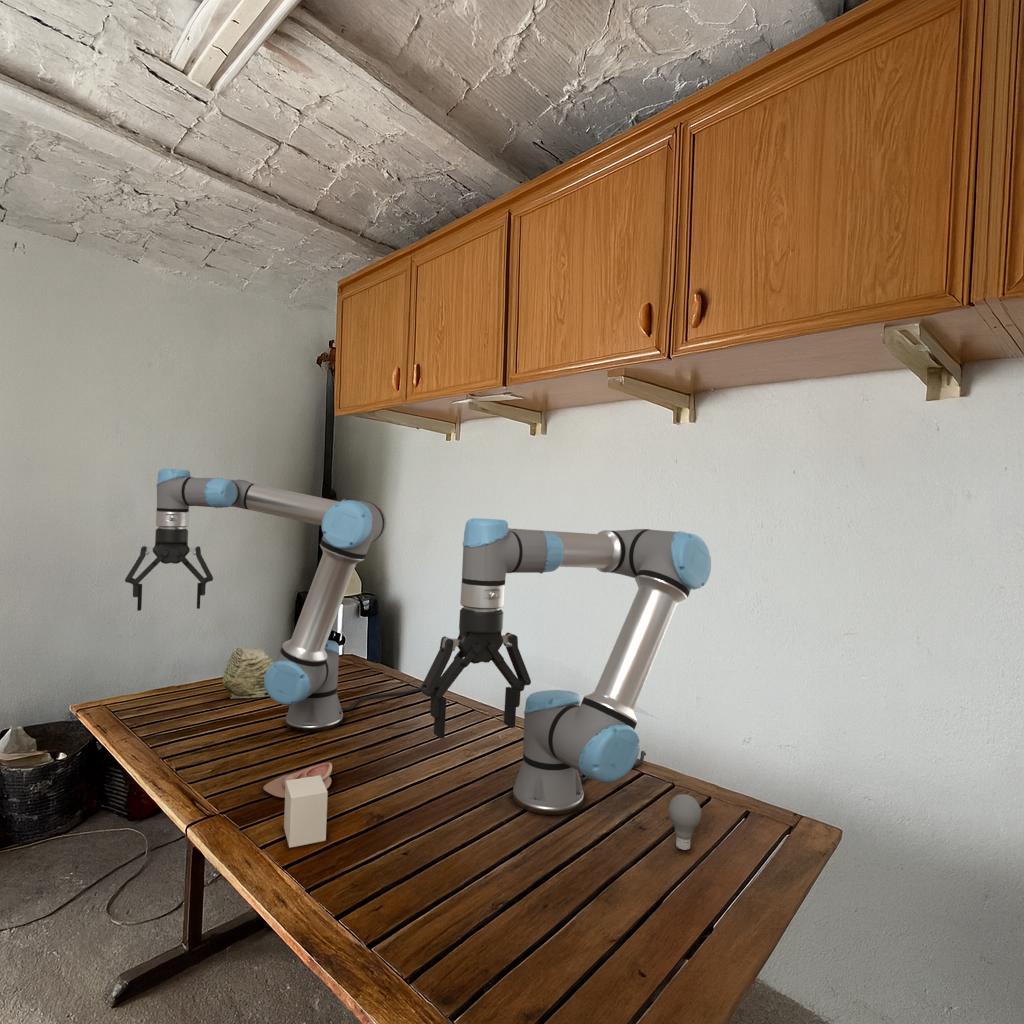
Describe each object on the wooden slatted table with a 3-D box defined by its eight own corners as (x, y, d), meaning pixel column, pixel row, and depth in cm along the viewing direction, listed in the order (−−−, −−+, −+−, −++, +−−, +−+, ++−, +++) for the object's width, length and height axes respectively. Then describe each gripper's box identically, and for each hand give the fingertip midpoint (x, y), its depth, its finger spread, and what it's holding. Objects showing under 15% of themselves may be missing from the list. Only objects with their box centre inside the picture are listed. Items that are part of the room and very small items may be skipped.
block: (283, 827, 121) (285, 780, 121) (318, 821, 124) (320, 775, 124) (289, 848, 114) (291, 797, 114) (325, 840, 117) (327, 791, 117)
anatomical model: (255, 775, 133) (285, 754, 145) (254, 793, 133) (285, 771, 145) (313, 783, 131) (339, 761, 142) (312, 802, 131) (338, 779, 142)
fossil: (218, 695, 195) (220, 647, 195) (278, 685, 208) (279, 640, 207) (228, 703, 189) (230, 653, 188) (289, 692, 201) (290, 645, 201)
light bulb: (662, 839, 122) (664, 788, 122) (692, 839, 123) (695, 788, 122) (672, 857, 116) (675, 803, 116) (704, 857, 117) (707, 803, 116)
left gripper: (114, 527, 157) (111, 613, 157) (225, 529, 168) (222, 609, 168) (117, 526, 163) (115, 608, 164) (223, 527, 174) (221, 604, 175)
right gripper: (422, 614, 100) (415, 748, 100) (554, 609, 112) (547, 728, 112) (405, 606, 106) (398, 732, 106) (531, 602, 119) (525, 715, 119)
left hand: (169, 608), depth 166 cm, fingers open, 13 cm apart
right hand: (475, 730), depth 109 cm, fingers open, 13 cm apart
